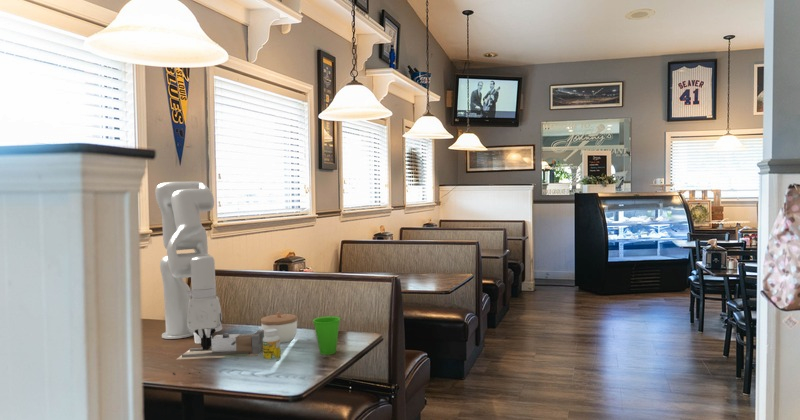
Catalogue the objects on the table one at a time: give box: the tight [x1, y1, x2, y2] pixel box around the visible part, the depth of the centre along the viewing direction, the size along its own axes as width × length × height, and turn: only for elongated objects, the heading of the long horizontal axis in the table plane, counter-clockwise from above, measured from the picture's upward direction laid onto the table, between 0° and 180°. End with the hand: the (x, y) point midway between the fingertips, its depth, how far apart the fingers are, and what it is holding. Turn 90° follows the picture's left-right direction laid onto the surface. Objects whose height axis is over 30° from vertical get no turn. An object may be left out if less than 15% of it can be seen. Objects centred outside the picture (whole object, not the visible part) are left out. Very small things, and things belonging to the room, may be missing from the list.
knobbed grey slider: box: [211, 332, 241, 353], centre depth 183 cm, size 7×8×6 cm
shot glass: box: [193, 329, 213, 345], centre depth 200 cm, size 7×7×7 cm
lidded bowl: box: [260, 311, 298, 344], centre depth 198 cm, size 13×13×11 cm
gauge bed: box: [176, 329, 264, 360], centre depth 184 cm, size 12×26×7 cm, turn 90°
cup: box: [312, 315, 341, 356], centre depth 183 cm, size 9×9×11 cm
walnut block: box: [236, 333, 254, 353], centre depth 184 cm, size 5×5×5 cm
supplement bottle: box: [262, 329, 282, 362], centre depth 177 cm, size 5×5×10 cm
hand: (206, 348), depth 184 cm, fingers closed
